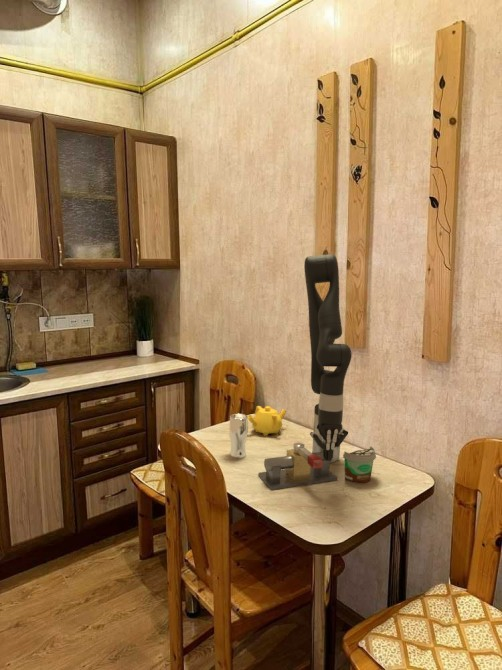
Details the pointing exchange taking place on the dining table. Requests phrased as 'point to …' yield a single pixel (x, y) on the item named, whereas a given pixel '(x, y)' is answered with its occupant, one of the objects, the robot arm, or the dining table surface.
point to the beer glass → (238, 434)
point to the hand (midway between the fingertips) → (327, 459)
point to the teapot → (267, 420)
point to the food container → (359, 465)
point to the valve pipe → (294, 471)
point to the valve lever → (307, 455)
